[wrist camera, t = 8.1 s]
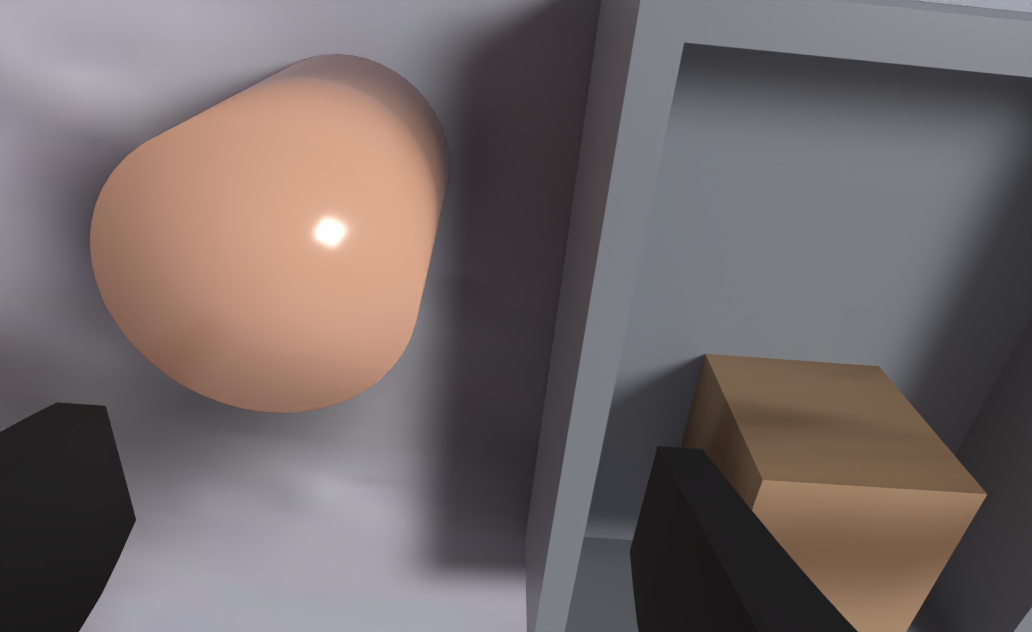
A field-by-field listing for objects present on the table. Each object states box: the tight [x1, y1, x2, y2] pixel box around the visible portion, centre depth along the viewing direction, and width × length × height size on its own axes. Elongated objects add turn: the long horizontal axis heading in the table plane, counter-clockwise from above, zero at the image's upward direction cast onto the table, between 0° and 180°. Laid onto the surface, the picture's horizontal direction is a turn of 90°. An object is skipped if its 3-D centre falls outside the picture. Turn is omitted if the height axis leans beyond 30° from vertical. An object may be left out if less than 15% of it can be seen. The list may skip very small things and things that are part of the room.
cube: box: [680, 354, 987, 632], centre depth 18 cm, size 5×5×5 cm
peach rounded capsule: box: [90, 54, 449, 413], centre depth 13 cm, size 5×5×7 cm
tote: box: [526, 0, 1032, 632], centre depth 17 cm, size 18×14×5 cm
